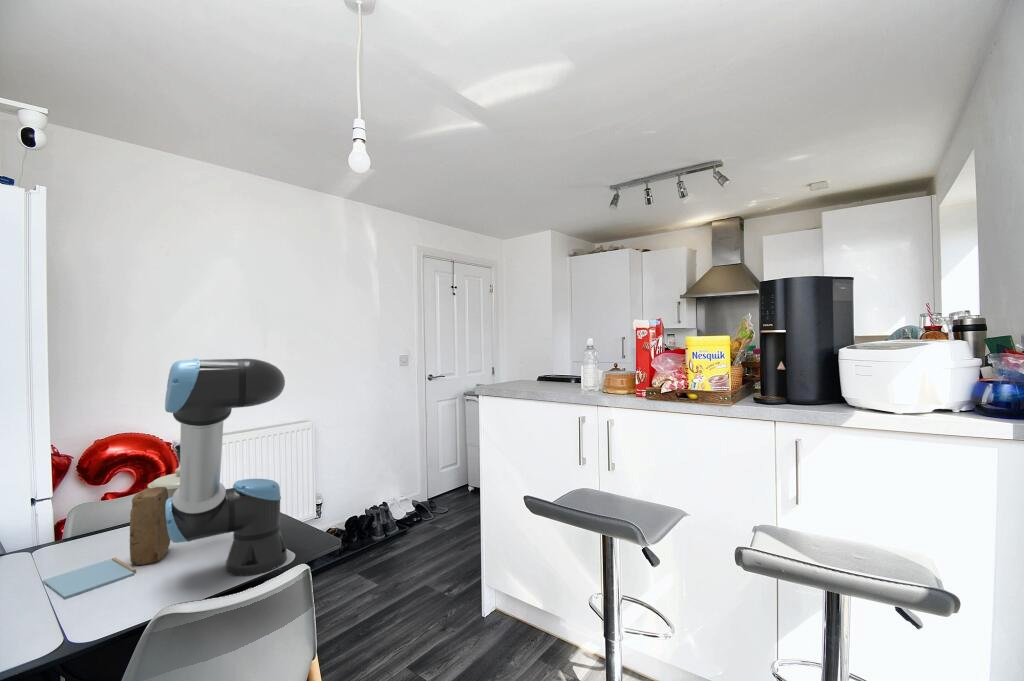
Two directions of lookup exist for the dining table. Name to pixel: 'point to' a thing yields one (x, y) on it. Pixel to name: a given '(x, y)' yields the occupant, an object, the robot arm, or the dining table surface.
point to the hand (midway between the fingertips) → (196, 494)
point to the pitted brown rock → (148, 526)
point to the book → (89, 577)
